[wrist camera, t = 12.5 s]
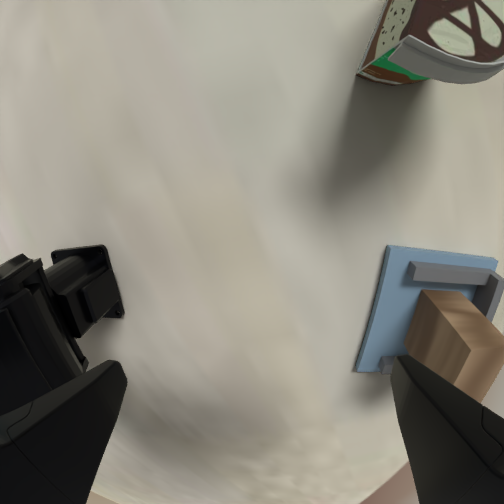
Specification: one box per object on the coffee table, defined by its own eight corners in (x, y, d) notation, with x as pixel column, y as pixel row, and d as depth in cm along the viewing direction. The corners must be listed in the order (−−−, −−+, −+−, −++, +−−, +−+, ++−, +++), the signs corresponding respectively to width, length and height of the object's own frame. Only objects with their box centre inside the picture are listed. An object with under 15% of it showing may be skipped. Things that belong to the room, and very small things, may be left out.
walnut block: (403, 343, 22) (437, 411, 14) (421, 289, 20) (471, 350, 12) (440, 342, 21) (479, 404, 14) (459, 291, 20) (512, 346, 12)
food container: (423, 136, 17) (517, 136, 8) (348, 92, 17) (404, 45, 7) (460, 17, 13) (530, -23, 4) (395, -24, 13) (443, -90, 3)
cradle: (355, 365, 24) (362, 391, 20) (387, 245, 20) (403, 261, 17) (454, 362, 23) (467, 383, 20) (493, 257, 19) (514, 272, 16)
